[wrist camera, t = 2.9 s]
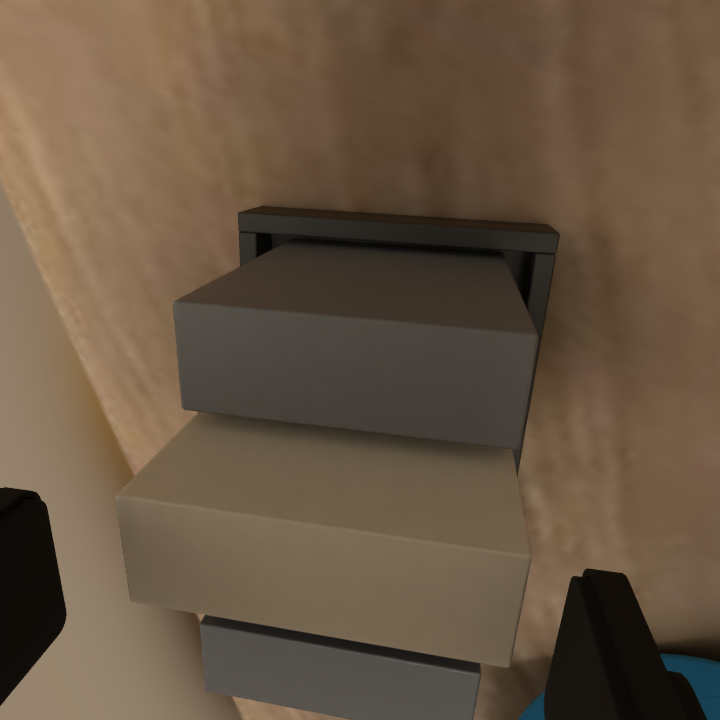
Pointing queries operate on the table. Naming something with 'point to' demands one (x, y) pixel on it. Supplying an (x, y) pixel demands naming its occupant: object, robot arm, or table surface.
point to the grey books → (356, 424)
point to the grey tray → (514, 240)
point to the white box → (332, 535)
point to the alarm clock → (707, 677)
